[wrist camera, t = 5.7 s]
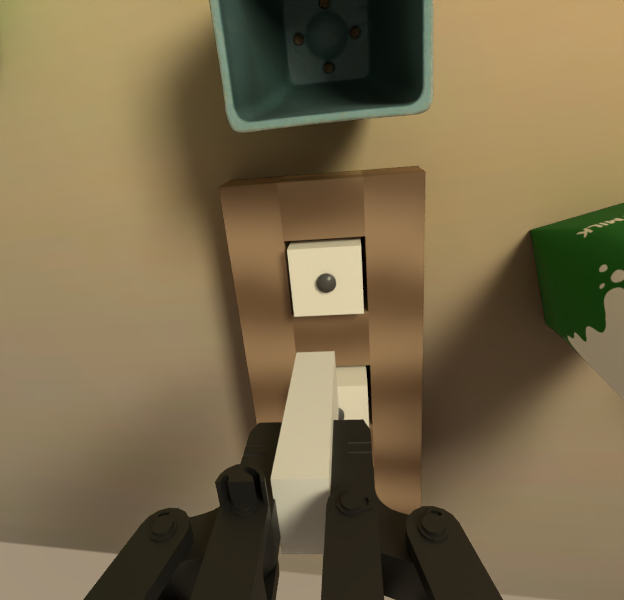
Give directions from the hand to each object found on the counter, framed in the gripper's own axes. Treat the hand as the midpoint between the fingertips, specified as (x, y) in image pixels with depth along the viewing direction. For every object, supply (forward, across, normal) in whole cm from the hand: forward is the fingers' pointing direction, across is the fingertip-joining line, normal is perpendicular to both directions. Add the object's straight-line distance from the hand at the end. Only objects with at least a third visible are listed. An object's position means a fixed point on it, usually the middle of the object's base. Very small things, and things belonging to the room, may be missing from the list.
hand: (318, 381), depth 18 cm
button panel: (+14, 0, +9) cm, 17 cm away
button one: (+14, 0, 0) cm, 14 cm away
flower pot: (+15, -1, -14) cm, 20 cm away
